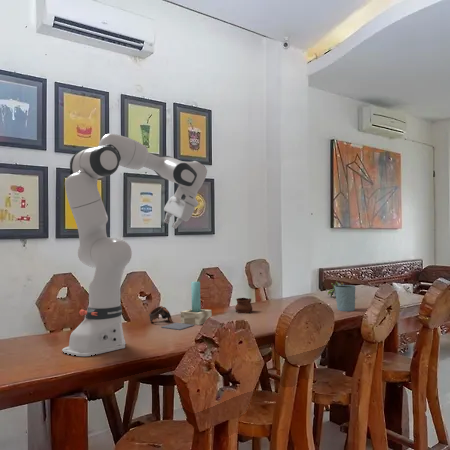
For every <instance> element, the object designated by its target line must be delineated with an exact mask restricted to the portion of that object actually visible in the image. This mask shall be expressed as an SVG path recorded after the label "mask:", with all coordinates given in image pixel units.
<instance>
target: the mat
mask: <svg viewBox="0 0 450 450" xmlns="http://www.w3.org/2000/svg"><path fill="white" fill-rule="evenodd" d="M194 326H195V325H194V324H186V323H181V322H173V323H169V324H167V325H162V326H161V327H160V328H161V329H166V330H167V329H170V330H176V331H177V330H178V331H181V330H185V329H187V328H192V327H194Z"/></svg>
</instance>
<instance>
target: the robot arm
mask: <svg viewBox="0 0 450 450" xmlns="http://www.w3.org/2000/svg"><path fill="white" fill-rule="evenodd" d="M98 143H99V144H98V146H95V147H87V148H85V149H83V150H80V151H77V152H76V153H75V154H73V155H72V156H71V158H70V161H69V175H68V176H67V177H66V179H65V181H64V187H65V192H66V193H65V195H66V198H67V202H68V204H69V207H70V210H71V213H72V216H73V219H74V221H75V224H76V228H77V232H78V238H79V246H78V249H77V256H78V257H77V258H78V260H79V261H80V262H81V263H82V264H84V265H86V266H88V267H91V268H95V272H94V276H93V279H92V281H91V282H90V283H89V285H88V307H87V310H86V309H80V310H79V312H78V313H79V315H80V316H84V320H83V321H81V323H80V324H79V325H78V326H77V327H76V328H75V329H73V331H71V334H70V335H69V342H68V346H65V347H64V348H62V349H61V352H62V351H63V352H64V353H63V352H62V353H63V354H65V353H67V354H66V355H69V354H71V355H70V356H74V355H76V356H75V357H91V355H92V356H94V355H95V354H96V355H101V354H104V353H105V354H106V353H108V352H113V351H117V350H121V349H125V348H126V340H125V336H124V331H123V323H122V314H123V308H122V305H121V283H122V278H123V274H124V270H125V269H126V266H127V265H128V264H129V263H130V261H131V259H132V254H133V253H132V252H133V251H132V247H131V246H130V244H129V243H128V242H127V241H125V240H122V239H120V238H117V237H108V234H107V223H108V220H109V217H108V216H109V215H108V213H107V211H106V208H105V205H104V202H103V200H102V197H101V193H100V192H99V189H98V181H99V179H103V178H105V177H110V176H111V175H114V173H115V172H116V171H117V170H118V168H119V167H120V166H121V167H123V168H126V169H131V170H141V169H142V168H146V169H149V170H152V171H153V172H154V173H155V174H156V175H157V176H158V177H159V178H161V179H164V180H166V181H170V182H172V183H175V184H177V185H178V187H177V188H176V191H175V192H174V194H173V196H170V198H169V199H168V200H167V202H166V204H165V205H164V208H163V211H164V212H166V213H165V218H164V220H163V223H165V224H167V225H169V223H170V219H171V217H172V216H174V217H175V218H176V221H175V222H173V224H172V225H171V227H172V228H174V229H178V227H179V226H180V225H181V224H182V222H183V221H184V222H186V223H187V222H188V221H189V220H190V219H191V217H192V215H193V214H194V212H195V210H196V209H195V208H197V207H198V205H199V201H198V200H197V199H196V198H197V196H198V192H199V190H200V189H201V188H202V186H203V185H204V184H203V183H204V182H205V180H206V178H207V173H208V169H207V167H206V166H205V165H204V164H203V163H201V162H200V161H198V160H193V161H185V160H184V161H182V160H179V159H177V158H175V157H173V156H170V155H162V156H161V155H160V156H159V155H155V154H154V153H151V152H149V151H148V148H147V146H146V145H144V144H143V143H141V142H139V141H137V140H135V139H133V138H130V137H127V136H123V135H120V134H115V133H107V134H105V135H103V136H102V137H101V139H100V140H99V142H98ZM96 355H95V356H96Z"/></svg>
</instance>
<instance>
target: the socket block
mask: <svg viewBox="0 0 450 450" xmlns="http://www.w3.org/2000/svg"><path fill="white" fill-rule="evenodd" d="M212 311H213V310H212V309H205V308H201V312H192V308H191V309H187V310H182V311H180V323H184V324H192V325H194V326H199V325H204V324H205V323H204V322H205V321H206V320H207V319H208V318H209V317H212V318H213V314H212V313H213V312H212Z"/></svg>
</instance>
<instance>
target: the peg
mask: <svg viewBox="0 0 450 450" xmlns="http://www.w3.org/2000/svg"><path fill="white" fill-rule="evenodd" d="M190 286H191V288H190V291H191V309H192V312H201V309H202V306H201V281H191V283H190Z"/></svg>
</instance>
